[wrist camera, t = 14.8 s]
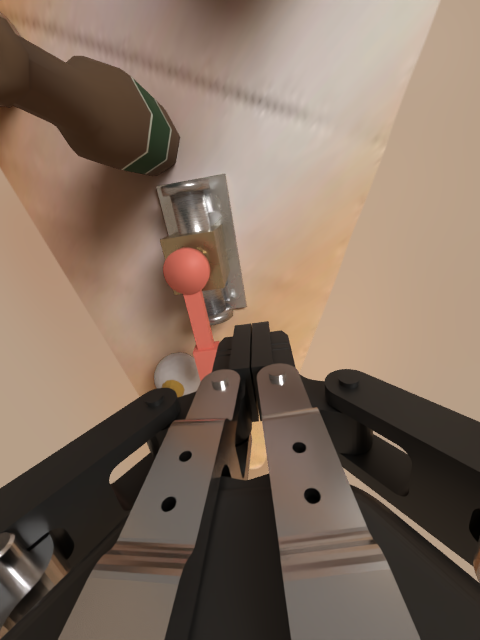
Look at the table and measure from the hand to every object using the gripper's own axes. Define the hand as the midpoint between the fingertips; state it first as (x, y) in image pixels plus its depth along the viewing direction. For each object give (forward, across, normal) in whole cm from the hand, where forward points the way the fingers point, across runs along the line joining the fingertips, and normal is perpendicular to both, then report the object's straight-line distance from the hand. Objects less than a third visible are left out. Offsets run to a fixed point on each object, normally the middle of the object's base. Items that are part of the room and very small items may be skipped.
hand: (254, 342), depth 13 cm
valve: (+29, +7, 0) cm, 30 cm away
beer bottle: (+29, +11, -14) cm, 34 cm away
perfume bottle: (+29, +15, +19) cm, 38 cm away
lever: (+18, +7, +5) cm, 20 cm away
